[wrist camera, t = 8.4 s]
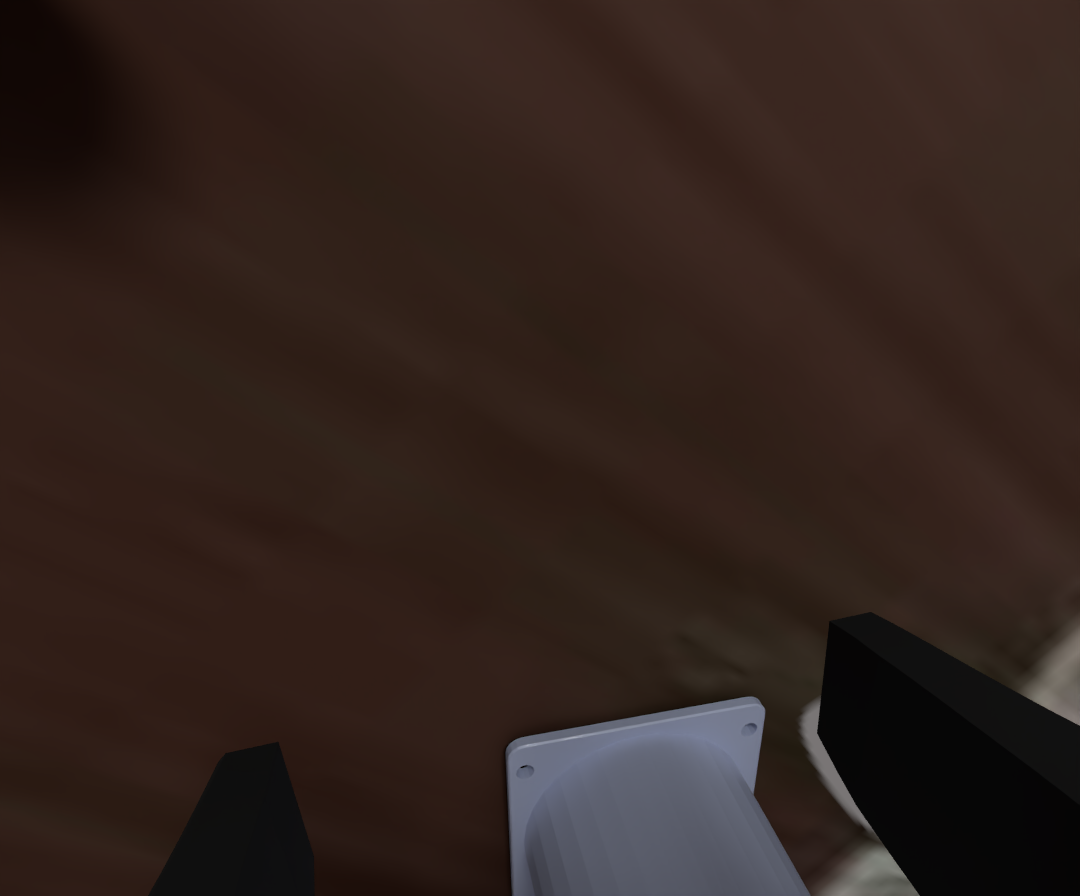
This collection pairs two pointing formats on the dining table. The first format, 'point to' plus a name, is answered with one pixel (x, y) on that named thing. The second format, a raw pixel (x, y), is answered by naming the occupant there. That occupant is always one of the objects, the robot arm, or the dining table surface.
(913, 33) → the dining table surface
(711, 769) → the robot arm
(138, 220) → the dining table surface
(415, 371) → the dining table surface
